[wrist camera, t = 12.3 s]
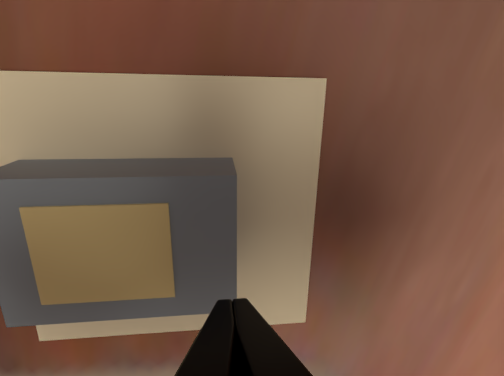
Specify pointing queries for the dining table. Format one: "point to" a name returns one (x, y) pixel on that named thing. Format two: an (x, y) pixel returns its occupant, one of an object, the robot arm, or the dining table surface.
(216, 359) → the robot arm
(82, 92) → the placemat
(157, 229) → the blue-grey block
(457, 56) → the dining table surface
